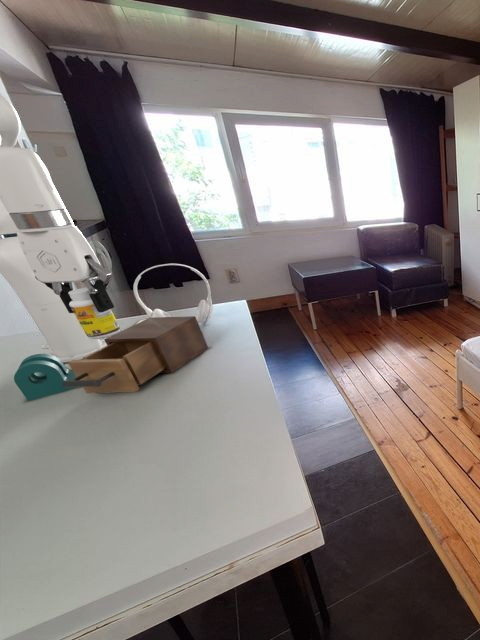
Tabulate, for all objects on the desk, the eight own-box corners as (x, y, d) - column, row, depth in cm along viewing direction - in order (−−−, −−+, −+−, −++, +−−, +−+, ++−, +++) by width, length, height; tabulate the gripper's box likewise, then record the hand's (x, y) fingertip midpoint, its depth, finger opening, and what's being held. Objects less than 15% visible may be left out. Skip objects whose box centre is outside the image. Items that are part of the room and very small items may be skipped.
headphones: (223, 322, 119) (200, 261, 110) (153, 338, 109) (122, 273, 100) (220, 316, 124) (198, 257, 115) (153, 331, 115) (124, 268, 105)
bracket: (28, 401, 81) (6, 370, 77) (33, 389, 85) (12, 359, 82) (131, 372, 91) (116, 343, 87) (131, 362, 96) (116, 335, 92)
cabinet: (172, 373, 90) (155, 337, 85) (123, 374, 90) (103, 339, 86) (208, 348, 102) (195, 316, 97) (164, 349, 102) (149, 317, 98)
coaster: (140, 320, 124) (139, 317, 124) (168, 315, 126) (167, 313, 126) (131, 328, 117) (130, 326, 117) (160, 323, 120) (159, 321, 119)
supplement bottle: (82, 338, 78) (55, 293, 74) (111, 328, 83) (88, 285, 78) (99, 341, 77) (73, 294, 72) (128, 330, 82) (105, 286, 77)
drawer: (116, 404, 76) (98, 372, 73) (65, 405, 77) (43, 373, 73) (176, 364, 92) (163, 336, 88) (133, 365, 92) (118, 337, 89)
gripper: (-23, 226, 66) (35, 318, 74) (67, 222, 66) (115, 315, 74) (23, 220, 73) (71, 305, 81) (105, 216, 72) (145, 303, 80)
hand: (92, 309), depth 77 cm, fingers closed on supplement bottle, 5 cm apart
